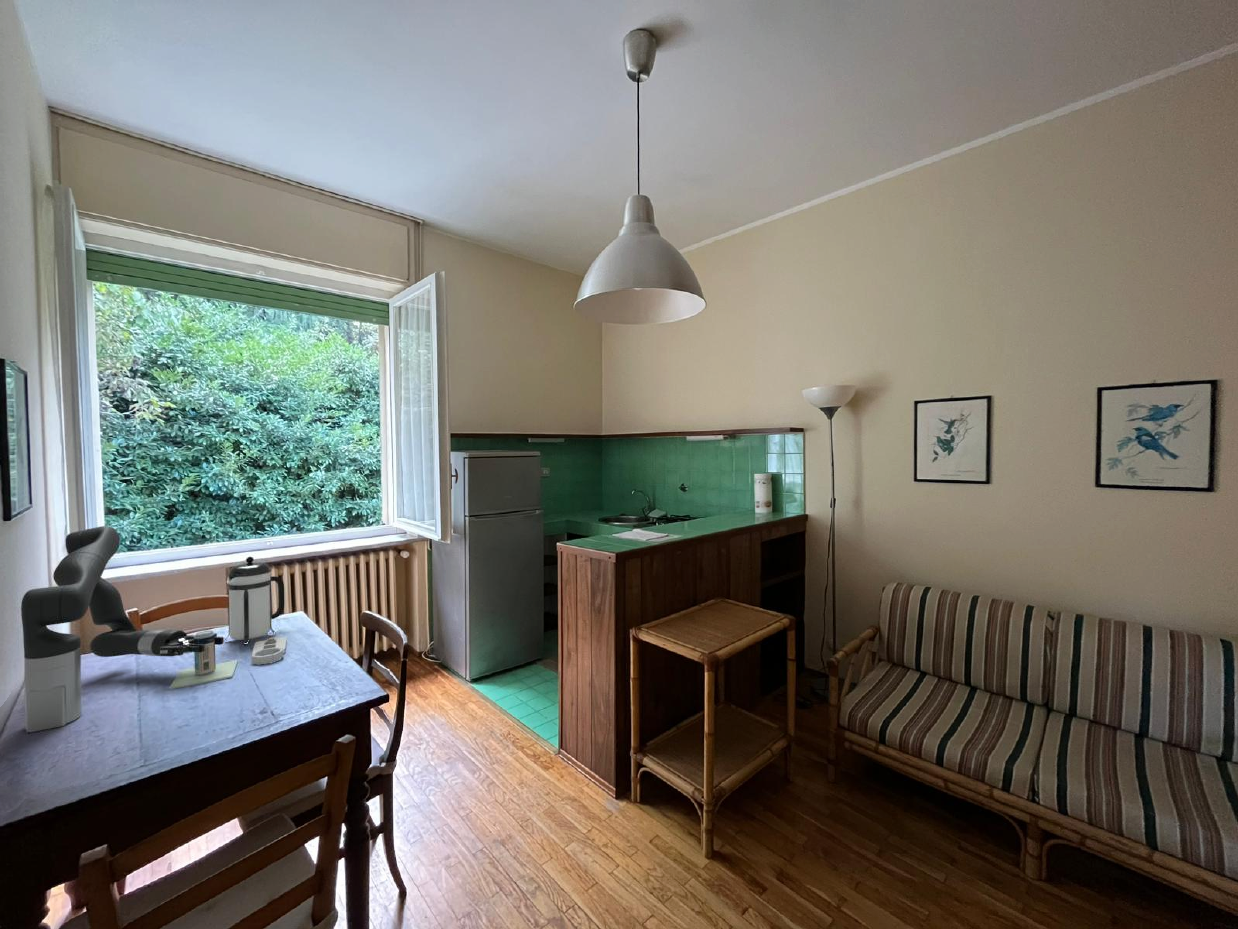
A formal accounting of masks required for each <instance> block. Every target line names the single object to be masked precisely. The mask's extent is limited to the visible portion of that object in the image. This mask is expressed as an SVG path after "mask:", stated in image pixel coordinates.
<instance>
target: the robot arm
mask: <svg viewBox="0 0 1238 929" xmlns="http://www.w3.org/2000/svg"><path fill="white" fill-rule="evenodd" d="M64 540H65V549H66V552H67V555H66V556H64V557H63V558H62V559H61V560H60V561H59V563H58V564H57V566H56V567H55V568H54V571H53V576H52V577H53V581H54V582H55V584H56V585H57V586H48V587H38V588H33V589H30V590H28V591H26V592H25V593H24V595H23V597H22V599H21V604H20V606H21V607H20V611H21V612H20V614H21V625H22V633H23V634H22V636H23V656H24V657H23V658H24V660H23V662H24V666H23V667H24V670H23V672H24V677H23V678H24V682H23V683H24V684H23V685H24V688H23V689H24V730H25V729H26V730H25V731H26V733H27V732H30V733H35V732H39V731H44V730H50V729H54V728H60V727H64V726H66V724H68V723H71V722H73V721H75V720H77V719H78V718H80V717H81V716H82V641H81V637H80V636H79V635H77V634H74V633H73V634H72V633H63V632H58V631H55V630H52V629H49V628H48V626H52V625H60V624H67V623H68V624H69V623H72V622H76V621H78V620H81V619H82V618H84V616H86V614H87V612H88V610H89V612H90V615H91V619H92V623H93V624H94V625H95V626H108V627H109V628H110V629H111V630H110V631H106V632H102V633H99V634H97V635H96V636H95V637H94V638H93V639H92V640H91V641H90V644H89V650H90V652H91V653H92V654H93V655H95V656H97V657H101V658H111V657H113V658H114V657H121V656H126V655H127V656H129V655H136V656H137V655H138V656H139V655H140V656H142V655H143V656H150V657H169V658H170V657H175V656H176V657H177V656H183V655H184V654H190V653H194V652H203V651H204V650H205V646H204V644H194V637H195V635H196V634H187V633H186V632H185V631H183V630H180V629H176V630H175V629H155V630H150V629H149V630H145V629H143V630H137V628H136V626H135V624H134V623H133V622H132V620H131V619H130V618H129V616H128V615H127V613H126V612H125V608H124V604H123V600H122V597H121V596H122V595H121V593H120V591H119V590H118V589H117V588H116V587H115V586H114V585H113V584H112V583H110V582H109V581H108V580H105V579H104V578H103V577H102V575H103V573H104V571H105V569H106V566H107V564H108V563H109V561H110V559H112V557H114V556H115V554H116V553H117V552H118V550H119V548H120V543H121V539H120V535H119V532H118V531H117V530H116V529H115V528H114V527H112V526H108V525H102V526H96V527H92V528H87V529H84V530H79V531H73V532H70V533H68V534H67V535H66V537H65V539H64ZM213 633H214V634H215V646H217V645H218V646H219V645H223V644H224V643H225V639H224V637H223V636H218V633H215V632H213Z"/></svg>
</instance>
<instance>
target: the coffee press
mask: <svg viewBox="0 0 1238 929" xmlns="http://www.w3.org/2000/svg"><path fill="white" fill-rule="evenodd" d="M245 561H246V562H245V563H240V564H236V565H234V566H233V567H232V568H230V570H229V572H227V579H226V584H227V587H228V593H227V594H228V596H227V598H228V635H227V637H226V638H225V639H224V641H225V640H226V641H227V639H228V637H230V639H232V640H237V641H240V640H242V641H243V644H244V643H247V642H248V640H252V639H256V638H259V637H264V636H266V635H268V634H267V633H269V632H270V631H271V632H272V633H273V634H274V632H275V630H273V628H272V620H274V619H276V618H278V617H280V616H281V614H282V613H283V611H284V609H285V582H284V581H283V579H282V578H281V577H279V576H271V572H272V568H271V567H270V565H269V564H268V563H265V562H257V561H256V562H254V557H252V556H248V557H247V558H246V559H245ZM272 582H275V583H276V584H277V599H278V600H277V601H278V603H277V605H278V606H277V610H276V611H275V612H274V613H272Z"/></svg>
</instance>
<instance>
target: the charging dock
mask: <svg viewBox="0 0 1238 929" xmlns="http://www.w3.org/2000/svg"><path fill="white" fill-rule="evenodd" d="M286 639H287V636H284V637H278V638H275V637H274V636H273V637H269V638H267V640H259V641H255V643H254V645H253V649H252V651H251V652H252V653H251V665H254V664H264V665H268V664H267V663H269V664H272V663H271V662H274V661H276V662H278V661H277V660H279V659H280V658H282V657H283V658H284V654H283V652H284V651H285V652H286V649H285V647H286V648H287V642H286ZM279 661H280V660H279ZM274 663H275V662H274Z"/></svg>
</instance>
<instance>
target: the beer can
mask: <svg viewBox="0 0 1238 929" xmlns="http://www.w3.org/2000/svg"><path fill="white" fill-rule="evenodd" d="M214 633H215V632H214V631H213V630H205V631H200V632H197V633H196V634H194V635H195V637H194V644H204V646H205V650H204V651H203V652H193V653H194V654H193V655H194V659H193V660H194V668H195V674H197V675H205V674H208V673H211V672H213V671H214V670H215V669H216V665H215V664H216V645H215V634H214Z"/></svg>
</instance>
